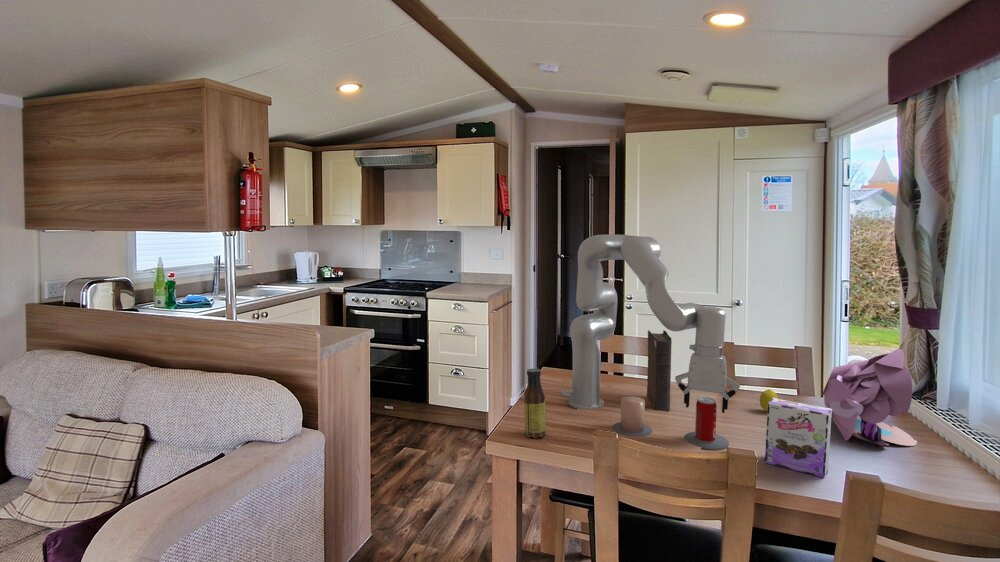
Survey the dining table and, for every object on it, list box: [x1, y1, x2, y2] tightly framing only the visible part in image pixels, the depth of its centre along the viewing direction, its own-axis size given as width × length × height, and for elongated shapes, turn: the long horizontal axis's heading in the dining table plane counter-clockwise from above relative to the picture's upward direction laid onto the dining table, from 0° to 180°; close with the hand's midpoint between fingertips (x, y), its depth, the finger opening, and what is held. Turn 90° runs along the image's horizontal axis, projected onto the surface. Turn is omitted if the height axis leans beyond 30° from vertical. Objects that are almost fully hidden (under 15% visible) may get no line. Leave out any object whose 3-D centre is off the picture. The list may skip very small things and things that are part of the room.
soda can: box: [694, 396, 717, 443], centre depth 152 cm, size 6×6×12 cm
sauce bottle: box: [523, 368, 547, 439], centre depth 157 cm, size 6×6×20 cm
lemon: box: [759, 388, 779, 413], centre depth 176 cm, size 6×6×8 cm
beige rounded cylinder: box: [620, 395, 646, 433], centre depth 161 cm, size 7×7×9 cm
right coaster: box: [683, 431, 730, 451], centre depth 153 cm, size 12×12×1 cm
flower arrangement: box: [822, 348, 918, 447], centre depth 157 cm, size 35×24×28 cm
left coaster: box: [611, 421, 654, 438], centre depth 161 cm, size 12×12×1 cm
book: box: [646, 329, 672, 412], centre depth 184 cm, size 17×7×25 cm, turn 167°
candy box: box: [764, 398, 832, 478], centre depth 136 cm, size 14×6×16 cm, turn 50°
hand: (705, 408), depth 152 cm, fingers open, 9 cm apart
